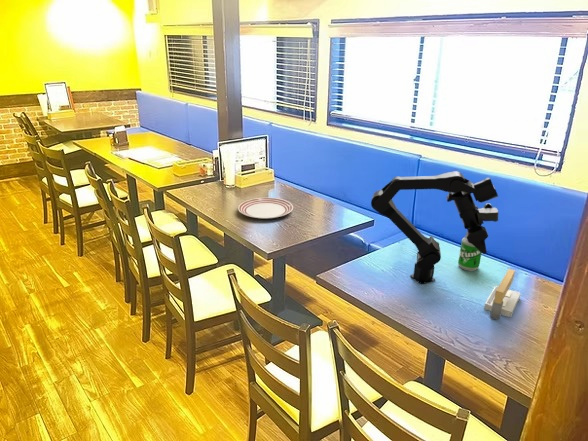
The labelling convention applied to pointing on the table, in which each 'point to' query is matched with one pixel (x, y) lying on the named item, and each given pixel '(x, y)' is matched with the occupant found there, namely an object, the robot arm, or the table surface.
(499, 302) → the bar
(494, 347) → the table surface
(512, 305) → the white flat block
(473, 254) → the soda can
